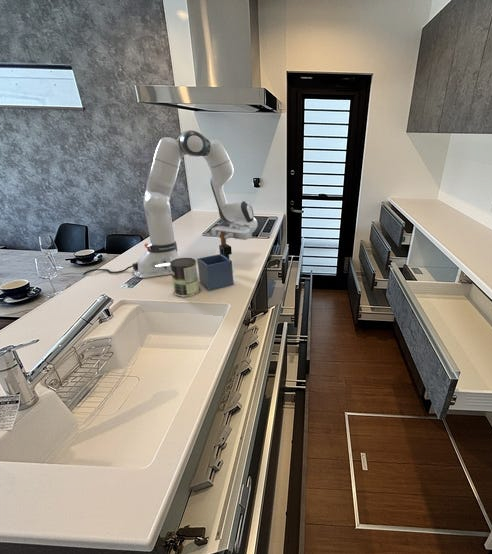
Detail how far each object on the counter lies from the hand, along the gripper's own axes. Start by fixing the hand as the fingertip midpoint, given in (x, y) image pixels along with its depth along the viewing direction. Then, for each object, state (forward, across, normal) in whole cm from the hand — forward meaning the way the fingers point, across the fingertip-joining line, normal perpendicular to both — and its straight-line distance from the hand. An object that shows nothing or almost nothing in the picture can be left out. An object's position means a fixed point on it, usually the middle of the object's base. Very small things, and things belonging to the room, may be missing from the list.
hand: (222, 236), depth 147 cm
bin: (+13, +4, +19) cm, 23 cm away
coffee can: (+26, -2, +19) cm, 32 cm away
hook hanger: (0, +1, +15) cm, 15 cm away
